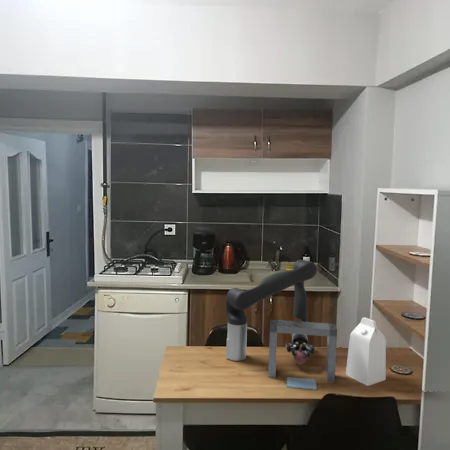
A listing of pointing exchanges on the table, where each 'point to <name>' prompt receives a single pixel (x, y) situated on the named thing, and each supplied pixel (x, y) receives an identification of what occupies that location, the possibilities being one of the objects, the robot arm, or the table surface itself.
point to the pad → (301, 383)
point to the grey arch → (304, 329)
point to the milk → (367, 353)
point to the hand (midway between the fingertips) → (301, 354)
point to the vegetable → (300, 356)
